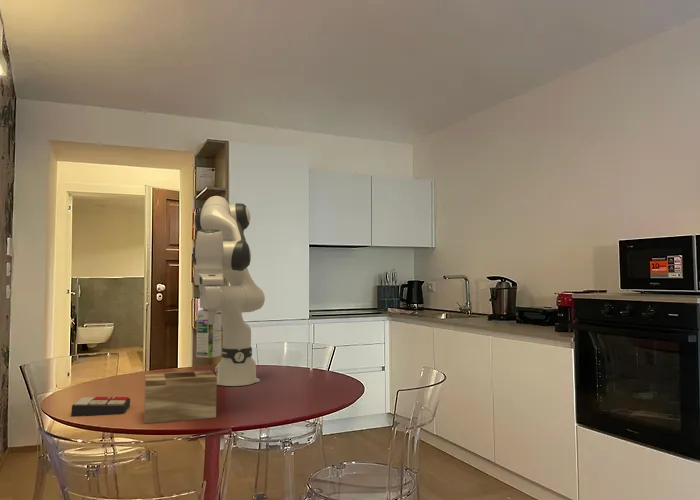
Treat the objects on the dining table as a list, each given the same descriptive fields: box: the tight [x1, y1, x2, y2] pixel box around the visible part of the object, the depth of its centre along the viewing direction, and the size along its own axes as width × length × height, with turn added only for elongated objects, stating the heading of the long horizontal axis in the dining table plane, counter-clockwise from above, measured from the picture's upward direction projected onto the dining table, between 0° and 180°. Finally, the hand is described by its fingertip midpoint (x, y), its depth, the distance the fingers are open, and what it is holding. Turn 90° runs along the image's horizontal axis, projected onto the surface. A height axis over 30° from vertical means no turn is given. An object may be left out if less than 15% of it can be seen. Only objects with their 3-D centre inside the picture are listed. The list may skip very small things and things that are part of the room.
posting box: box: [143, 369, 218, 424], centre depth 166 cm, size 14×20×12 cm
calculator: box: [70, 396, 131, 418], centre depth 170 cm, size 11×4×15 cm
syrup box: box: [195, 309, 222, 359], centre depth 170 cm, size 6×6×14 cm
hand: (208, 323), depth 170 cm, fingers closed on syrup box, 8 cm apart
